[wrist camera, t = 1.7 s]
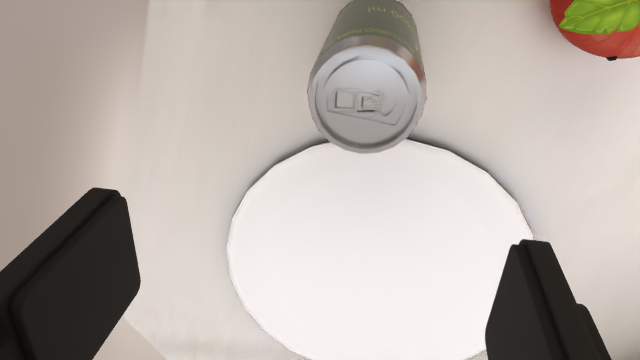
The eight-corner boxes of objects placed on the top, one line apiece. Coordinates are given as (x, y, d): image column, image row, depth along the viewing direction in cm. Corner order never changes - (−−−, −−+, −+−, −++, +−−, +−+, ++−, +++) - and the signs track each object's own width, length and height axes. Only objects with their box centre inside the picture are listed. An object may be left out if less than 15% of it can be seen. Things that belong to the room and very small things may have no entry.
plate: (603, 208, 35) (609, 217, 34) (439, 399, 48) (440, 411, 47) (282, 76, 34) (278, 82, 32) (200, 312, 46) (196, 321, 45)
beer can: (330, 73, 33) (303, 153, 23) (334, -11, 30) (304, 36, 20) (411, 79, 32) (419, 163, 22) (421, -6, 30) (437, 44, 19)
